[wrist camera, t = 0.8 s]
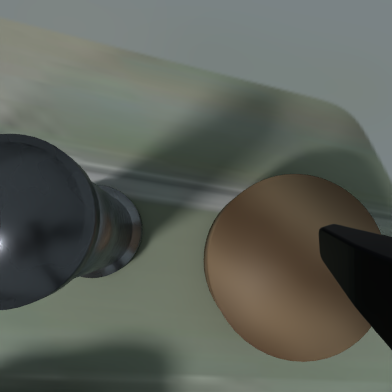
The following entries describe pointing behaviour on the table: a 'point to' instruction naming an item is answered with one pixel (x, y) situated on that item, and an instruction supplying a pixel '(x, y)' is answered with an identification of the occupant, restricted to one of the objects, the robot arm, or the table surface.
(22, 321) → the table surface
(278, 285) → the stand
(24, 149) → the grey metal cylinder
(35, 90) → the table surface
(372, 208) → the table surface
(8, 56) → the table surface
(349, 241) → the robot arm
